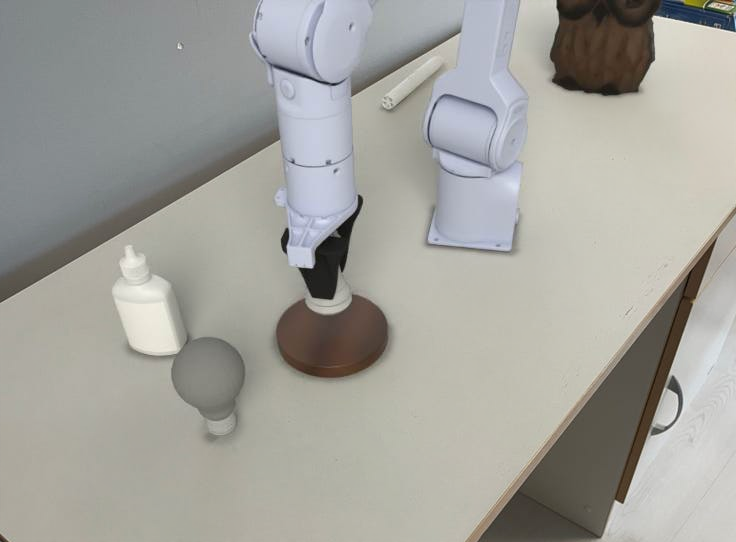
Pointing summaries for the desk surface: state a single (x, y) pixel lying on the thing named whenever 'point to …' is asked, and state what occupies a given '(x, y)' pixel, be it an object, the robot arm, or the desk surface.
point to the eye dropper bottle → (147, 308)
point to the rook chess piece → (340, 297)
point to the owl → (603, 45)
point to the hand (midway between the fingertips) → (328, 282)
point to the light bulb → (210, 380)
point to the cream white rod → (412, 82)
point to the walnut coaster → (332, 338)
